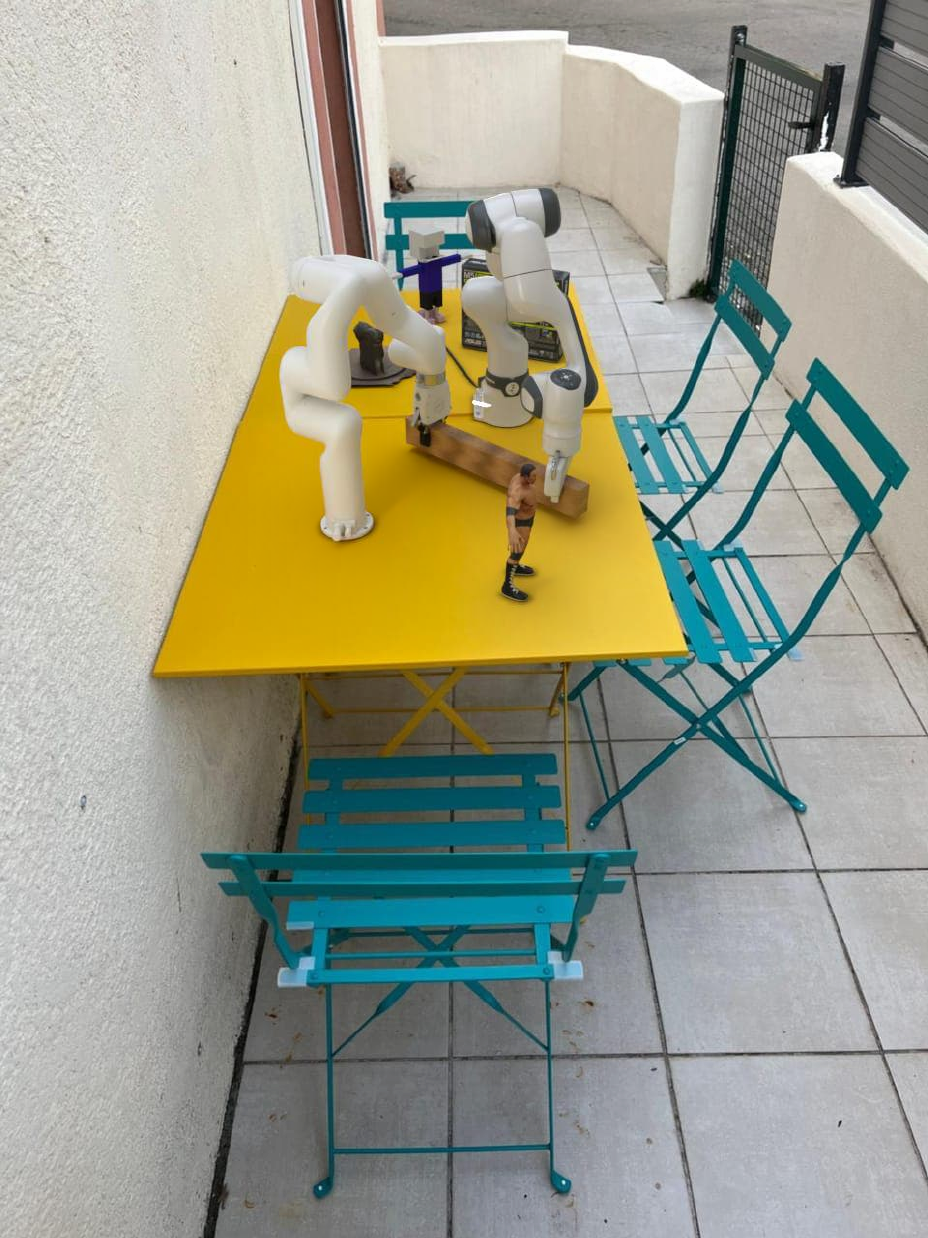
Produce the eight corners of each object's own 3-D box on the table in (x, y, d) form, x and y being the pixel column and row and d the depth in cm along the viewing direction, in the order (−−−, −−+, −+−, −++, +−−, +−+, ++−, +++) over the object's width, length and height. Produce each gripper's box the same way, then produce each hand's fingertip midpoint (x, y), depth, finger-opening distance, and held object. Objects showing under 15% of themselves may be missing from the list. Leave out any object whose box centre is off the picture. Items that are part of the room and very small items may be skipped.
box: (565, 354, 285) (571, 269, 268) (558, 363, 280) (563, 277, 263) (468, 339, 295) (468, 256, 278) (460, 347, 290) (459, 264, 272)
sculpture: (406, 397, 263) (403, 345, 252) (297, 384, 270) (290, 333, 259) (437, 352, 287) (436, 303, 277) (336, 341, 294) (331, 293, 284)
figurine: (524, 621, 184) (530, 498, 165) (494, 617, 185) (497, 494, 166) (540, 553, 202) (547, 435, 183) (512, 550, 203) (516, 432, 184)
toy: (460, 304, 319) (459, 216, 299) (477, 312, 313) (477, 222, 294) (381, 329, 302) (375, 237, 283) (398, 337, 296) (393, 244, 277)
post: (406, 442, 238) (405, 417, 233) (418, 436, 240) (417, 411, 236) (575, 518, 209) (578, 491, 204) (586, 510, 212) (589, 483, 207)
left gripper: (418, 391, 215) (420, 458, 227) (464, 370, 225) (464, 435, 237) (396, 382, 219) (399, 448, 231) (442, 362, 229) (443, 426, 241)
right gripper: (566, 465, 195) (562, 518, 204) (582, 422, 210) (578, 473, 219) (538, 462, 196) (536, 514, 205) (556, 419, 211) (552, 469, 220)
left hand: (432, 441), depth 234 cm, fingers closed on post, 4 cm apart
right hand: (557, 492), depth 212 cm, fingers closed on post, 6 cm apart
